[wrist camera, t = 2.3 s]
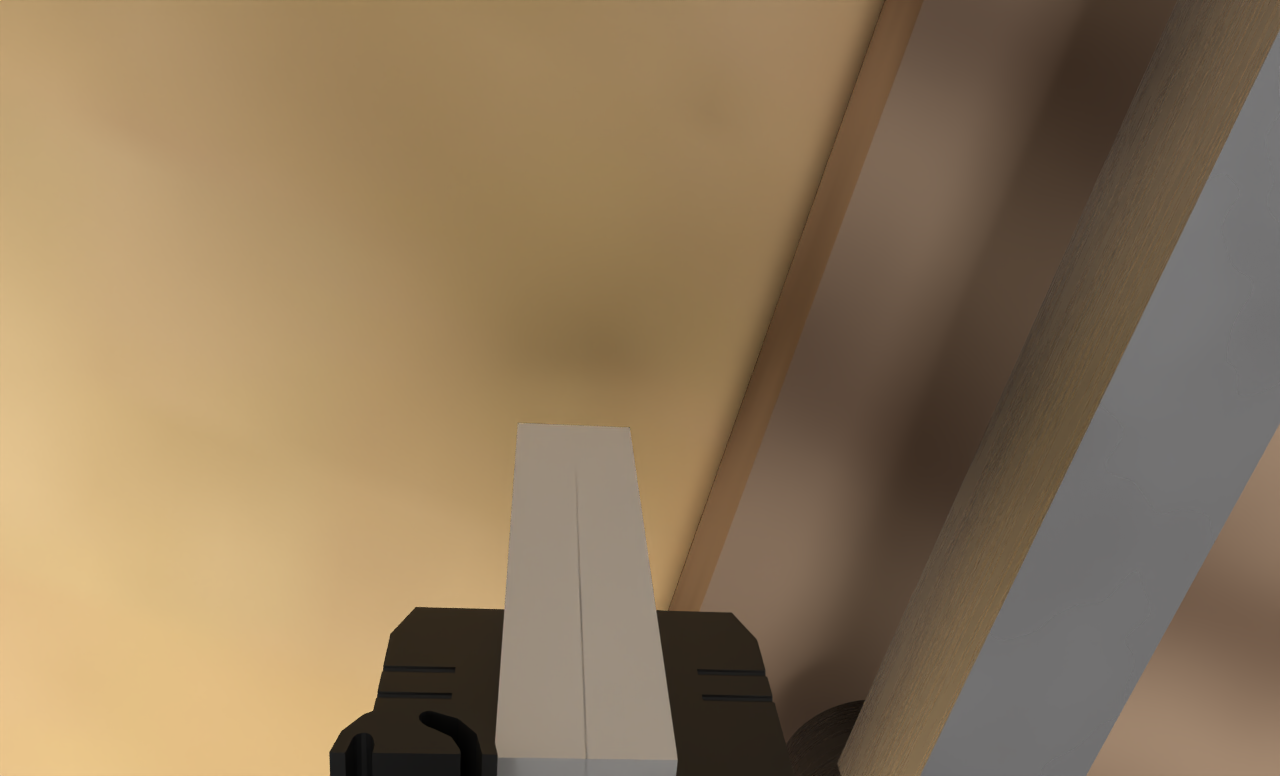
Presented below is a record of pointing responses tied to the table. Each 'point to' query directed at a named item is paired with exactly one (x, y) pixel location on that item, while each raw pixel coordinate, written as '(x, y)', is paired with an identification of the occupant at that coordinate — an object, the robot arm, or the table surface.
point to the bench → (957, 376)
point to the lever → (1101, 438)
